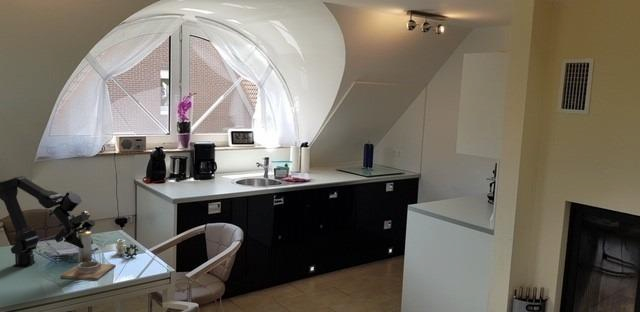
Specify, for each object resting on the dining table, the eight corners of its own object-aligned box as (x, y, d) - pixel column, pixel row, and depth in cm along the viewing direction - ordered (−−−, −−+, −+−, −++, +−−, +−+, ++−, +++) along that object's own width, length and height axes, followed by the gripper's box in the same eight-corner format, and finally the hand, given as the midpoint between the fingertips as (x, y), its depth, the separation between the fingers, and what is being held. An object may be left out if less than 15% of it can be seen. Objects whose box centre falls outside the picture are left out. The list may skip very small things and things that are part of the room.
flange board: (61, 277, 213) (60, 269, 212) (81, 264, 228) (81, 257, 228) (97, 280, 212) (97, 272, 211) (115, 266, 227) (115, 259, 227)
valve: (112, 253, 245) (125, 259, 237) (112, 240, 244) (125, 246, 236) (125, 250, 250) (138, 256, 242) (124, 237, 249) (138, 243, 241)
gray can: (77, 262, 213) (77, 234, 212) (79, 258, 218) (78, 230, 216) (91, 261, 215) (90, 233, 213) (92, 257, 220) (91, 230, 218)
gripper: (59, 211, 206) (83, 240, 204) (91, 201, 223) (113, 228, 222) (44, 227, 209) (67, 256, 207) (77, 217, 226) (98, 243, 225)
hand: (87, 245), depth 215 cm, fingers closed on gray can, 5 cm apart
